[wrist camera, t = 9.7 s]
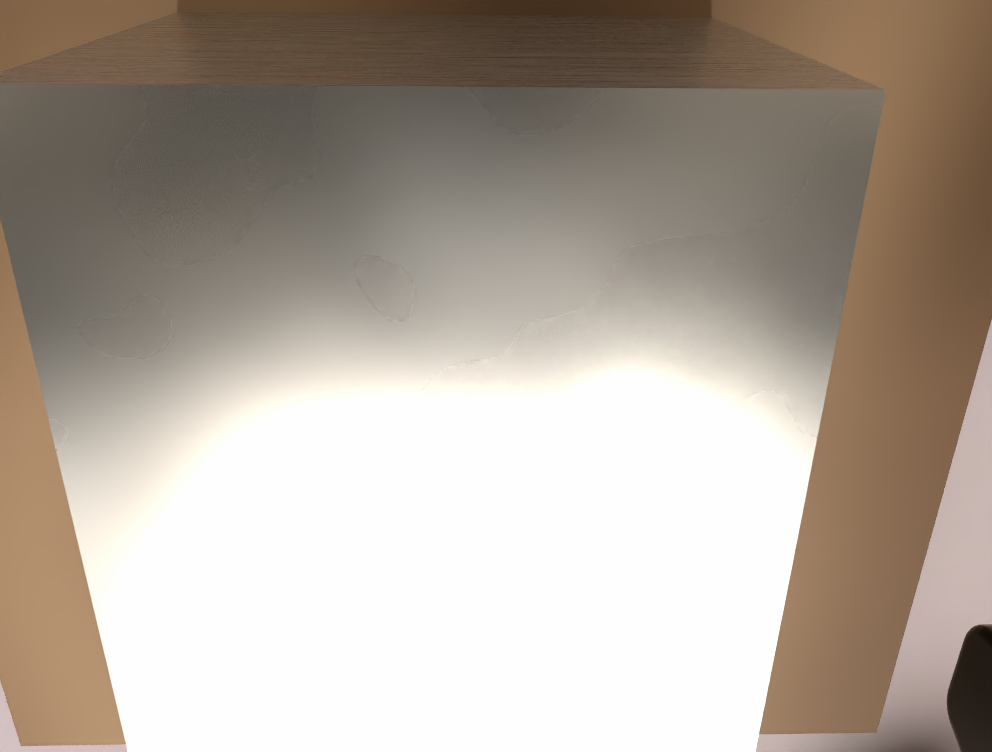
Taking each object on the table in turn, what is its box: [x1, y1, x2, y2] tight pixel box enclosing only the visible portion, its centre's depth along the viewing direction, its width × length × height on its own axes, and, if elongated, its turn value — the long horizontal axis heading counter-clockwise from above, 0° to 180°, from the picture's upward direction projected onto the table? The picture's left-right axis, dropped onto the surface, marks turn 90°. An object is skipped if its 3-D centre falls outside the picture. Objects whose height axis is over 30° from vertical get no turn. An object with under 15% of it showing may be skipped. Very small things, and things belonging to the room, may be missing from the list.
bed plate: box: [0, 0, 992, 746], centre depth 11 cm, size 12×11×1 cm
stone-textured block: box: [0, 12, 886, 752], centre depth 9 cm, size 5×10×4 cm, turn 179°
